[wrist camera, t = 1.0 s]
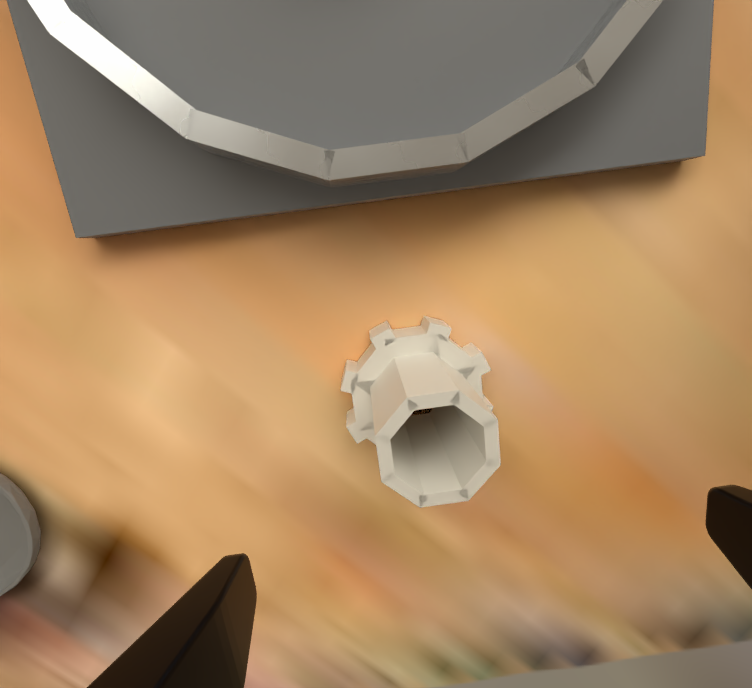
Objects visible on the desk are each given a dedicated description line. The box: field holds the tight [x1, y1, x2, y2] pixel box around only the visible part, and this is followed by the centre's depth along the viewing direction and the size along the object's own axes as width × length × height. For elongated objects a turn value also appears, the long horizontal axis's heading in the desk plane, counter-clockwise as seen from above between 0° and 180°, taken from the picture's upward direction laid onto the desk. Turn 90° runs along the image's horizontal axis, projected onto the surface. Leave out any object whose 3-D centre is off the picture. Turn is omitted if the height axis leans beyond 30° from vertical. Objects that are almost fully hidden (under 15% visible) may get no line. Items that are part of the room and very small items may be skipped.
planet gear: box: [340, 316, 501, 508], centre depth 14 cm, size 6×6×6 cm
